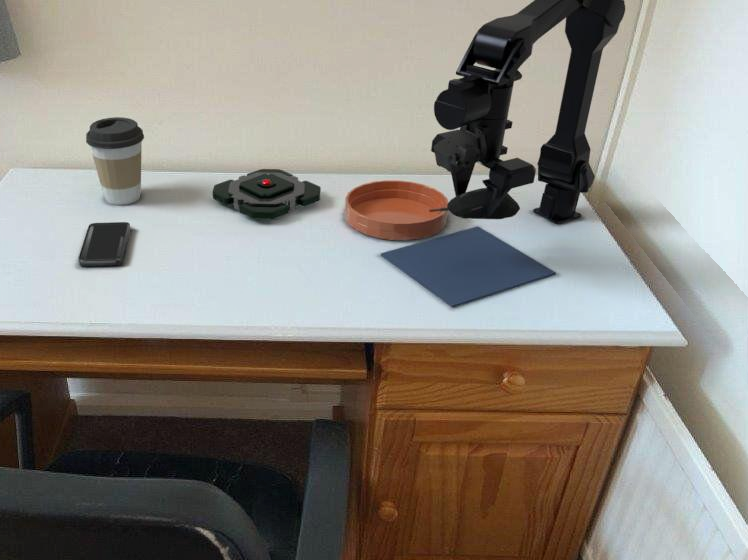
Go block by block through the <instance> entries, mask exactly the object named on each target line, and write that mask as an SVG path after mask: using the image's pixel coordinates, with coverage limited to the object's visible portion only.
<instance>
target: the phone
mask: <svg viewBox="0 0 748 560" xmlns="http://www.w3.org/2000/svg"><path fill="white" fill-rule="evenodd" d="M131 230H132V229H131V224H130V222H127V221H119V222H118V221H117V222H113V221H112V222H111V221H110V222H93V223H92V222H91V223H89V224H88V226H87V230H86V233H85V237H84V240H83V243H82V245H81V248H80V252H79V256H78V258H77V259H78V264H79V266H80V267H82V268H84V267H85V268H88V267H118V266H121V265H123V264H124V263H125V262H124V261H125V258H126V253H127V247H128V243H129V240H130V234H131Z"/></svg>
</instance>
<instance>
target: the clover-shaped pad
mask: <svg viewBox="0 0 748 560" xmlns="http://www.w3.org/2000/svg"><path fill="white" fill-rule="evenodd" d="M211 195H212V199H213V200H214V201H216V202H219V203H220V204H223V205H224V206H229V205H233V208H234V209H235V210H237V211H239V213H240V214H243V215H244V216H246V217H249V218H250V219H253V220H274V219H278V218H279V217H282V216H285V215H287V214H290V212H294V211H296V209H297V207H298V206H301V207H307V206H311V205H313V204H315V203H317V202H320V201H321V186H320V185H317V184H315V183H313V182H311V181H309V180H302V181H301V180H299V177H298V176H296V175H293V174H292V173H291V172H287V171H286V170H284V169H280V168H261V169H257V170H255V171H251V172H249V173H246V175H240V176H238V178H237V179H235V180H234V179H227V180H224V181H222V182H219V183H216V184H214V186H213V188H212V191H211Z"/></svg>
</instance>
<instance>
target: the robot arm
mask: <svg viewBox="0 0 748 560" xmlns="http://www.w3.org/2000/svg"><path fill="white" fill-rule="evenodd" d="M625 12H626V3H625V0H533V1H531V2H530V3H529V4H527V5H526V6H525V7H524V8H522V9H521V10H519V12H517V13H515V14H512V15H506V16H501V17H497V18H495V19H493V20H490V21H488V22H486V23H484V24H483V25H481V27H480V28H479V29H478V30H477V31H476V32H475V35H474V36H473V38H472V40H471V42H470V44H469V45H468V48H467V49H466V51H465V53H464V56H463V57H462V59H461V61H460V62H459V65H458V67H457V69H456V71H455V75H456V76H460V78H453V79H450V80H449V81H448V84H447V89H444V90H442V91H441V92H439V94H438V95H437V97H436V99H435V101H434V104H433V113H434V117H435V120H436V122H437V123H438V125H440V127H442V128H443V129H445V130H447V131H444V132H441V133H437V134H436V135H435V136H434V138H433V139H432V140H431V148H430V152H432V153H434V158H435V162H436V163H435V164H436V165H437V166H438V167H441V168H443V169H445V170H446V171H447V172H448V173H450V175H451V179H452V184H453V191H454V194H455V197H456V196H458V195H461V194H463V193H466V192H467V190H468V187H469V184H470V182H471V178H472V174H473V173H474V169H475V166H476V164H478V165H480V166H483V167H485V168H486V169H488V170H489V173H488V178H487V179H483V180H481V182H482V183H483V185H484V186H485V188H487V193H486V201H485V209H484V216H485V217H488V216H491V215H492V213H493V212H494V210H495V209H496V208H497V206H498V205H499V204H500V202H501V201H502V200H503V198H504V197H505V196H506V194H507V193H508V194H509V193H510V191H511V190H512V189H515V188H519V187H523V186H526V185H530V184H534V182H535V177H536V172H537V181H538V182H542V183H545V187H544V191H543V192H542V195H541V200H540V204H539V207H535V208H533V210H532V212H533V213H534V214H537V215H538V216H540V217H542V218H544V219H545V220H548V221H549V222H552V223H553V224H556V225H558V224H562V223H566V222H569V221H572V220H576V219H579V218H581V217H582V214H581V213H580V212H578V211H577V206H578V203H579V199H580V195H581V193H585V194H586V193H588V192H589V190H590V189H591V187H592V185H593V183H594V180H595V178H596V175H595V173H594V171H593V169H592V166H591V164H590V156H591V146H590V144H589V141H588V139H587V136H586V129H587V124H588V119H589V114H590V110H591V105H592V101H593V97H594V92H595V87H596V82H597V78H598V74H599V70H600V64H601V60H602V56H603V51H604V48H605V47H606V46H607V45H608V44H609V43H610V42H611V41H612V39H614V37H615V36H616V35H617V34H618V31H619V28H620V25H621V22H622V21H623V19H624V17H625ZM563 20H565V25H564V33H565V36H566V39H567V41H568V45H569V47H570V54H569V55H570V56H569V61H568V65H567V70H566V75H565V81H564V87H563V91H562V96H561V100H560V106H559V112H558V118H557V122H556V127H555V132H554V134H553V135H552V136H551V137H550V138H549V140H548V141H547V142H546V143H543V144H542V145H541V147H540V151H539V157H538V161H537V164H536V165H537V169H536V167H535V166H534V165H533V163H530V162H527V161H526V160H524V159H522V158H520V157H515V158H510V159H506V160H503V159H501V158H500V157H501V156H505V155H507V153H508V147H507V146H505V145H504V140H505V134H506V130H509V129H512V128H513V123H514V122H513V121H512V120H510V119H508V117H509V112H510V107H511V101H512V95H513V89H514V85H515V84H514V83H515V82H517V81H520V80H521V79H522V78H523V74H522V73H521V71H520V70H519V69H520V68H521V66H522V65H524V63H525V62H526V61H527V60H528V59H529V58H530V57H531V56H532V54H533V49H534V48H533V47H534V44H535V43H536V42H537V41H538V40H539V39H541V38H542V37H543V36H544V35H546V34H547V33H548V32H550V31H551V30H552V29H553V28H555V27H557V25H559V24H560V23H561V22H563ZM475 64H477V65H475ZM478 65H480V66H478ZM481 66H482V67H481ZM489 68H491V69H489Z"/></svg>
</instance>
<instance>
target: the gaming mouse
mask: <svg viewBox="0 0 748 560" xmlns="http://www.w3.org/2000/svg"><path fill="white" fill-rule="evenodd" d="M486 193H487V187H481V188H477V189H472V190H470V191H466V193H463V194H461V195H458V196H456V195H455V197H453V198H452V199H450V200H449V201H448V202H449V203H448V204H447V207H445V208H444V207H443V208H440V209H431V210H429V211H430V212H434V211H440V212H441V211H447V210H448V213H450V214H451V215H453V216H454V217H457V218H460V219H463V220H465V219H466V220H469V219H470V220H504V219H508V218H512V217H514V216H517V214H518V213H519V211H520V210H521V207H520V205H519V202H517V201H516V200H515V199H514V198H513V196H511V195H510V194H509V192H508V193H507V194H506V196H505V197H504V198H503V200H502V201H501V202H500V204H499V205H498V206H497V208H496V209H495V210H494V212H493V213H492V215H491V216H488V217H485V216H484V209H485V201H486Z"/></svg>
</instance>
